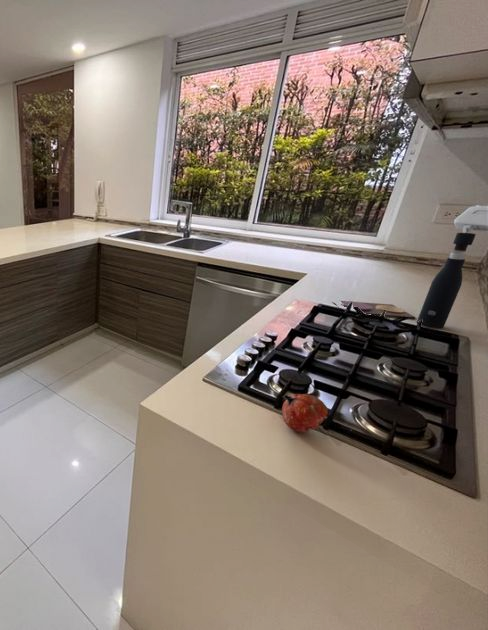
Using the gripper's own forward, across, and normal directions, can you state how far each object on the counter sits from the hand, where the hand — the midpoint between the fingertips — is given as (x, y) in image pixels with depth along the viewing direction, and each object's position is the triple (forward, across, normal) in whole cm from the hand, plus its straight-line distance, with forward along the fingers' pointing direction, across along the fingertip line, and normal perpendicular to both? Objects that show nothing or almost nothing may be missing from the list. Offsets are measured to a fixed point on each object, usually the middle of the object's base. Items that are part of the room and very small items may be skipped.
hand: (482, 241), depth 105 cm
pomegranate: (+85, +30, -51) cm, 104 cm away
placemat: (+29, -16, +10) cm, 34 cm away
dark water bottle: (+26, +1, +12) cm, 29 cm away
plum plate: (+31, -18, +7) cm, 37 cm away
